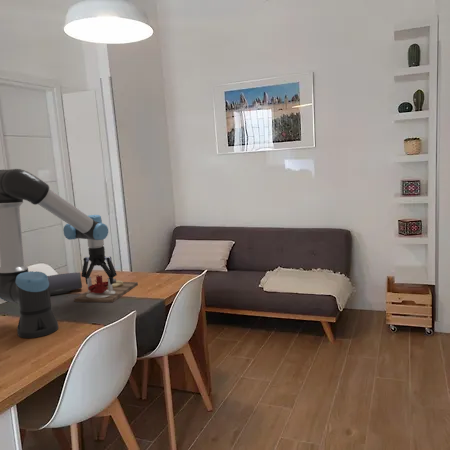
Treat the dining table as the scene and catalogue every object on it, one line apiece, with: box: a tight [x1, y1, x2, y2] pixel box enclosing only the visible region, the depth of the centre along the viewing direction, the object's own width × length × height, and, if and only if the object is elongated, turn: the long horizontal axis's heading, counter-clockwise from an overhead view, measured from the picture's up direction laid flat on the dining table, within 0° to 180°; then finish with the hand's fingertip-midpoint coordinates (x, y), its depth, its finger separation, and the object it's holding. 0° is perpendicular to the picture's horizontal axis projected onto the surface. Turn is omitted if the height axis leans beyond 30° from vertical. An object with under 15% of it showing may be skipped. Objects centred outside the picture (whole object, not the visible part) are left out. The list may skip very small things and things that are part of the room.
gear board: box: [73, 278, 139, 303], centre depth 229 cm, size 30×20×5 cm, turn 168°
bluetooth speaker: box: [47, 272, 83, 296], centre depth 233 cm, size 23×9×10 cm, turn 111°
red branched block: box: [87, 274, 108, 293], centre depth 221 cm, size 11×12×8 cm
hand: (100, 290), depth 222 cm, fingers closed on red branched block, 10 cm apart
